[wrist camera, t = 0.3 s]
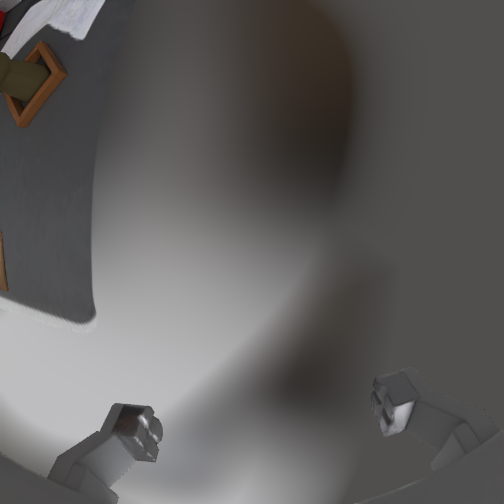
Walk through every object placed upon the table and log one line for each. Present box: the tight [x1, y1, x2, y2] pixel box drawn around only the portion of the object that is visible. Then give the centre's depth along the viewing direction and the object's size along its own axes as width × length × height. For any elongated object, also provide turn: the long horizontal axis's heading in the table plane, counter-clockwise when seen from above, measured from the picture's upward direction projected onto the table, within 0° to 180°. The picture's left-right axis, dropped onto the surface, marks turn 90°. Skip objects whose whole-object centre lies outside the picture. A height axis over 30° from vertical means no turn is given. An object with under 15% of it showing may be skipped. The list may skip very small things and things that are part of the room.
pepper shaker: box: [0, 52, 50, 103], centre depth 17 cm, size 6×6×11 cm
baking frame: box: [3, 41, 67, 127], centre depth 22 cm, size 10×10×2 cm
